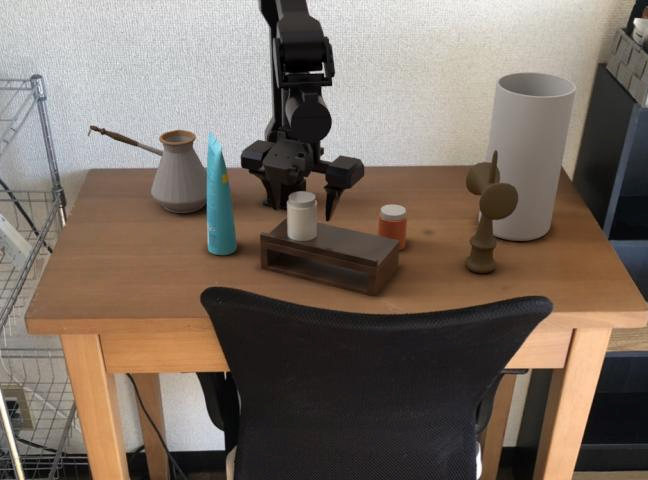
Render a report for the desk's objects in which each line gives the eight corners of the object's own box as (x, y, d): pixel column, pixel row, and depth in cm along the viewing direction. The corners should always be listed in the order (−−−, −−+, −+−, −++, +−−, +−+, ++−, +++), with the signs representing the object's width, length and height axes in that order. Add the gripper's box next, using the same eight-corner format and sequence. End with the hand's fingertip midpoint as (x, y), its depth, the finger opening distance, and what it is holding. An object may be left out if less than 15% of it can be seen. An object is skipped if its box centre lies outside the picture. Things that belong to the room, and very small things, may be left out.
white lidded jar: (282, 237, 136) (281, 199, 132) (295, 225, 139) (295, 188, 135) (309, 243, 134) (308, 205, 130) (322, 231, 137) (322, 193, 133)
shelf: (261, 268, 138) (259, 234, 134) (289, 242, 145) (288, 209, 141) (374, 296, 131) (376, 261, 127) (398, 268, 138) (400, 233, 134)
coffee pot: (217, 190, 161) (211, 113, 152) (212, 217, 152) (206, 136, 143) (105, 191, 161) (92, 113, 152) (93, 218, 152) (79, 137, 142)
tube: (243, 255, 141) (237, 144, 129) (216, 261, 139) (207, 149, 128) (227, 236, 146) (220, 128, 135) (201, 242, 145) (191, 133, 133)
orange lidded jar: (372, 247, 143) (374, 212, 140) (383, 235, 147) (385, 201, 143) (399, 253, 142) (401, 218, 138) (409, 241, 145) (412, 206, 141)
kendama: (470, 283, 134) (485, 163, 122) (454, 254, 142) (467, 138, 130) (506, 281, 135) (525, 161, 123) (489, 252, 142) (505, 137, 130)
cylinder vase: (547, 213, 154) (572, 74, 139) (551, 245, 144) (579, 99, 129) (478, 208, 156) (495, 70, 141) (477, 240, 146) (496, 94, 131)
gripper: (218, 125, 122) (225, 223, 132) (335, 147, 116) (334, 248, 125) (256, 102, 130) (260, 196, 140) (367, 121, 124) (363, 218, 133)
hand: (302, 214), depth 134 cm, fingers open, 9 cm apart
